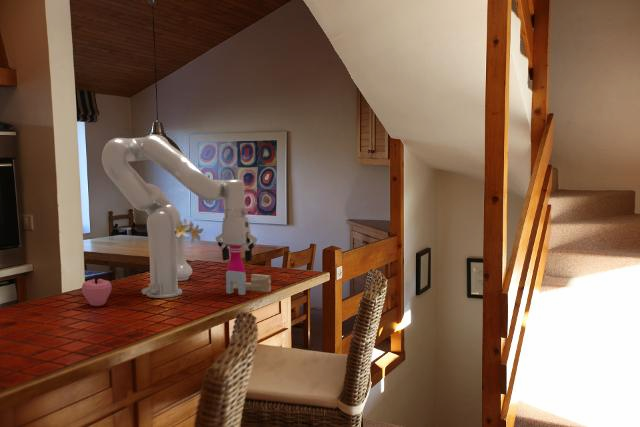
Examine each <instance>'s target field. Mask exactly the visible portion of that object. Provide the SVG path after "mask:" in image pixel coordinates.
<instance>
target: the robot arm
mask: <svg viewBox="0 0 640 427" xmlns="http://www.w3.org/2000/svg"><path fill="white" fill-rule="evenodd" d="M147 160H148V161H149V160H150V161H152V162H154V163H155V164H156V165H158V166H159V167H160V168H162V169H163V170H164V171H166V172H167V173H168V174H170V175H171V176H172V177H173V178H175V180H176V181H178V182H179V183H180V184H181V185H183V186H184V187H185V188H186V189H188V190H189V191H190V192H192V193H193V194H195V195H196V196H197V197H198V198H200V199H201V200H203V201H205V202H208V203H209V202H210V203H211V202H214V201H218V200H222V199H223V213H224V215H223V216H224V217H223V219H222V225H221V233H220V234H219V235H217V236H216V237H215V240H216V243H217V245H218V246H219V248H220V250H221V252H222V253H221V254H222V256H221V257H222V260H223V261H229V260H230V252H229V250H230V249H229V247H230V246H229V245H242V246H243V247H244V249H245V250H244V260H245V262H247V263H248V262H251V261H252V258H253V254H252V251H253V249H254V247H256V244H257V242H258V238H257V237H256V236H254V235H253V234H252V233H251V225H250V221H249V218H248V216H246V215H248V213H249V210H247V209H246V203H245V202H246V201H245V200H246V199H245V183H244V180H243V179H224V180H222V179H212V178H210V177H208V176H207V175H206V174H204V173H203V172H202V171H200V170H199V169H198V168H197V167H196V165H194V164H193V162H192V161H191V159H190V158H189V157H188V156H187V155H186V154H184V153H182V151H180V150H179V149H177V148H176V147H174V146H173V145H172V144H171V143H170V142H169V141H168V139H167V137H164V136H163V135H161V134H153V133H152V134H149V135H146V136H143V137H133V138H125V137H114V138H113V139H110V140H108V141H107V143H106V144H105V145H104V147H103V149H102V153H101V164H102V167H103V169H104V172H105V173H106V175H107V176H108V178H109V179H110V180H111V181H112V183H114V185H115V186H116V187H117V189H118V190H119V191H120V192H121V193H122V194H123V196H124V197H125V198H126V199H127V201H128V202H129V203H130V205H131V206H133V208H134V209H136V210H138V211H143V212H144V211H145V212H146V214H147V215H148V217H147V219H146V220H147V221H146V230H147V238H148V250H149V251H148V253H149V274H150V279H149V280H150V282H149V283H148V287H145V288H142V289H141V293H142V294H143V295H146V296H147V297H149V298H154V299H163V298H164V299H166V298H174V297H178V296H180V295H182V294H183V289H182V288H178V286H179V284H178V282H179V281H178V280H177V250H176V236H175V228H177V227H178V225H179V223H180V220H181V215H180V212H179V210H178V209H177V208H176V206H175V205H174V204H173V203H172V202H171V201H170V199H169V198H168V197H167V196H166V195H165V193H164V192H163V191H162V190H161V189H160V188H159V187H158V186H157V185H155V184H153V183H147V182H146V181H145V180H144V179H143V178H142V177H141V176H140V174H139V173H138V172H137V171H136V170H135V169H134V168H133V167H132V166H131V165H130V163H129V162H137V161H147Z"/></svg>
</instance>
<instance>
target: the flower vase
mask: <svg viewBox="0 0 640 427" xmlns="http://www.w3.org/2000/svg"><path fill="white" fill-rule="evenodd" d="M194 225H195V224H194V222H192V220H191V219H189V222H188V220H187V219H186V218H183V221H182V220H181V219H180V223H179V225H178V227H177V228H175V236H176V250H177V280H178V282H182V281H183V282H184V281H188V280H189V277H190V276H191V275H192V274H193V268H192V266H191V265H190V264H189V263H188V262H187V260H186V256H185V248H184V240H185V237H186V238H187V237H189V236H191V241H190V242H191V243H192V244H193V243H194V242H195V240H197V241H199V242H200V241H201V236H200V235H199V234H201V233H203V231H204V228H199V226H200V225H199V224H196V226H194ZM189 234H190V235H189Z"/></svg>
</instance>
